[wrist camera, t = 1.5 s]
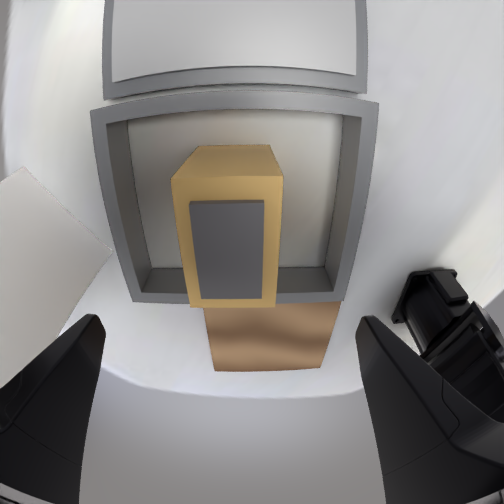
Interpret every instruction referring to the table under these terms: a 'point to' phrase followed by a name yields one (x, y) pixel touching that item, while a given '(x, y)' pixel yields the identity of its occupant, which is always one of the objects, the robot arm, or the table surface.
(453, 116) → the table surface
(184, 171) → the ochre module
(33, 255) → the milk
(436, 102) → the table surface
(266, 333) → the walnut board
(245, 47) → the equipment case
